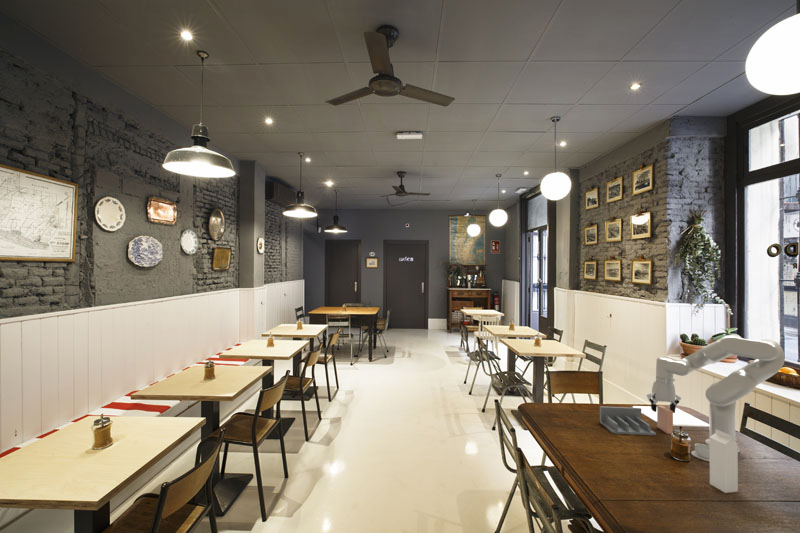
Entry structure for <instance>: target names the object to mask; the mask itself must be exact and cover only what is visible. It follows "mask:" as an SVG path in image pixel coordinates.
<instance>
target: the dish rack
mask: <svg viewBox="0 0 800 533" xmlns="http://www.w3.org/2000/svg"><path fill="white" fill-rule="evenodd" d="M599 423H600V424H601V425H602V426H603V427H605V428H606V429H607V431H609V432H611V433H612V434H616V435H634V436H635V435H637V436H640V435H641V436H657V433H656V432H655V431H654V430H652V429H651V425H650V424H649V423H648V422H646V421H644V419H642V413H641V408H633V407H626V406H601V405H600V406H599Z"/></svg>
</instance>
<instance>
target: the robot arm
mask: <svg viewBox="0 0 800 533" xmlns="http://www.w3.org/2000/svg"><path fill="white" fill-rule="evenodd" d="M732 356H737V357H742V358H747V359H752V361H750V362H749V363H748V364H745V365H744V366H743V367H741V368H738V369H737V370H735V371H733V372H731V373H730V374H728V375H727V376H725V377H724V378H723V379H720V380H718V381H716V382H714V383H712V384H711V385H710V386H708V387H707V388H706V390H705V398H706V399H707V401H708V402H709V405H708V406H709V407H708V408H709V413H708V414H709V415H708V417H709V418H708V419H709V423H708V424H709V427H708V428H709V429H708V430H709V431H708V432H709V434H708V435H709V438H707V439H705V443H704V444H706V445H709V446H710V437H711V436H712V435H713V434H714V433H715V430H716V429H717V430H719V431H722V432H724V433H726V434H729V435H731V440H733V441H735V442H736V404H737V403H736V402H737V401H739V400H740V399H742V398H744V397H746V396H748V395H749V394H751V393H752V392H753V391H754V389H756V387H757V386H759V385H760V384H762V383H763V382H765V381H766V380H768V379H770V378H771V377H773V376H774V375H776V374H777V373H779V371H780V370H782V368H783V366H784V365H785V359H786V356H785V352H784V349H783V348H782V346H781V345H780V344H779V343H778V342H777V341H775V340H773V339H761V340H753V339H747V338H742V336H739V335H737V334H728V335H725V336H723V337H721V338H719V339H717V340H716V341H713V342H711V343H709V344H707V345H705V346H703V347H701V348H700V349H698V350H696V351H695V352H694V353H692V354H689V355H687V356H685V357H682V358H681V359H678V360H674V359H672V358H670V357H665V356H659V357H657V358H656V369H655V380H654V381H653V384H652V387H651V393H649V394H647V395H646V398H647V400H648V401H649V402H650V403H651V404H650V406H651V409H652V410H653V411H654V412H656V410H657V406H658V405H657V403H658V402H661V403H662V402H663V403H669V409H670V410H671V411H673V413H675V410H676V408H677V406H678V404H679V403H680V401H681V400H682V398H681V396H678V395H676V388H675V384H674V382H676V379H675V378H674V375H676V376H679V377H686V376H688V375H689V374H691V373H693V372H694V371H697V370H699V369H701V368H703V367H706V366H708V365H712V364H716V363H719V362H720V361H723V360H725V359H727V358H729V357H732ZM740 451H742V448H741V447H739V446H738V453H740Z"/></svg>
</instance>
